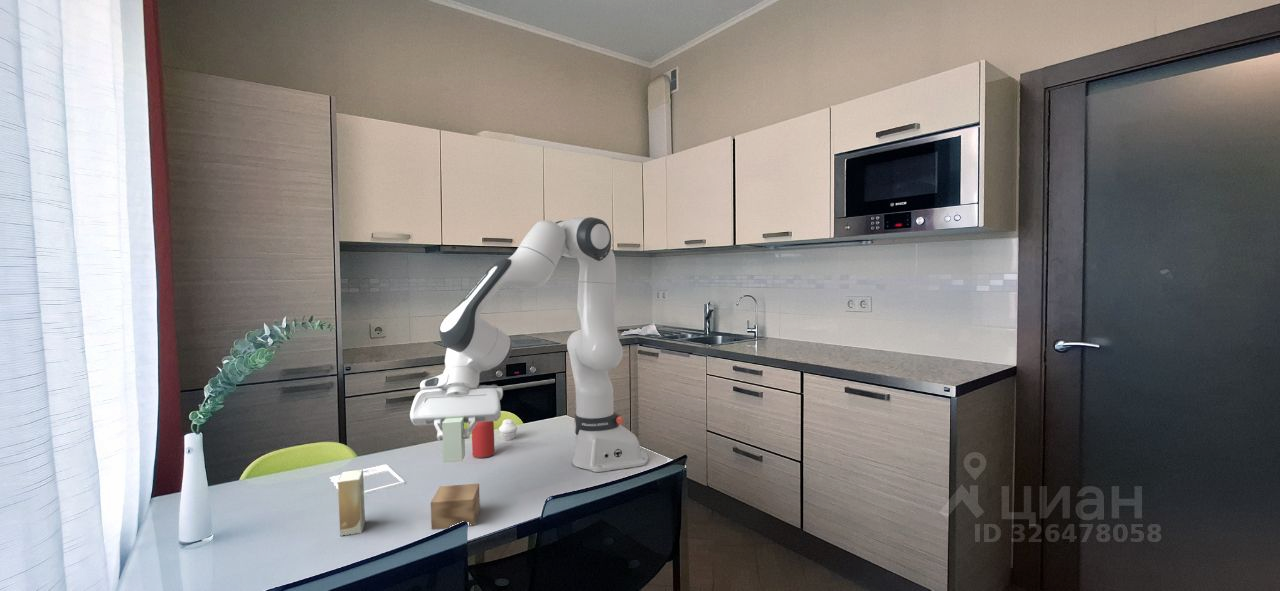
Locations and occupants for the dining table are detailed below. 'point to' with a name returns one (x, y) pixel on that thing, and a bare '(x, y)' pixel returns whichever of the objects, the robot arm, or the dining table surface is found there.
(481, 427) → the beer can
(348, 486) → the skincare box
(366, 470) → the photo frame
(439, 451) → the dining table surface
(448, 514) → the walnut block
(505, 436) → the muffin
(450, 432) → the sage pillar
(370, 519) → the dining table surface
